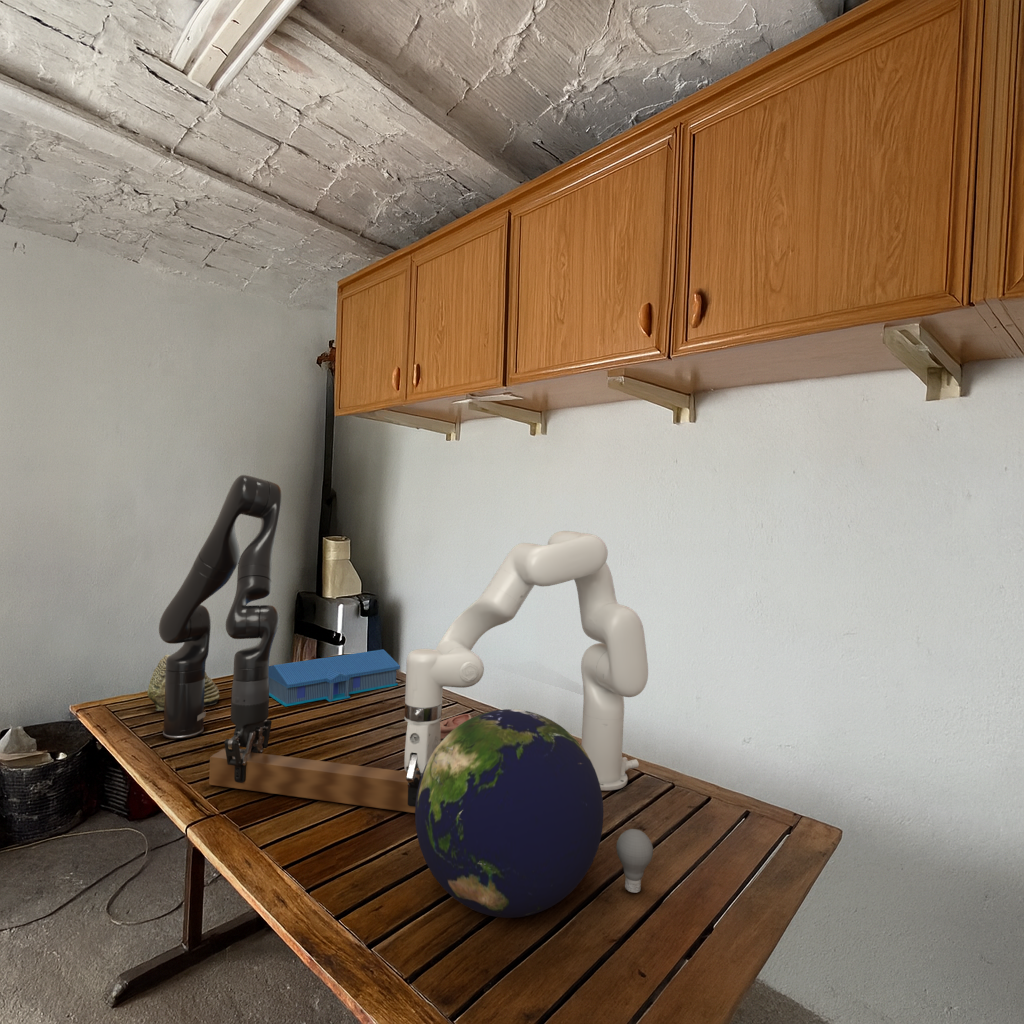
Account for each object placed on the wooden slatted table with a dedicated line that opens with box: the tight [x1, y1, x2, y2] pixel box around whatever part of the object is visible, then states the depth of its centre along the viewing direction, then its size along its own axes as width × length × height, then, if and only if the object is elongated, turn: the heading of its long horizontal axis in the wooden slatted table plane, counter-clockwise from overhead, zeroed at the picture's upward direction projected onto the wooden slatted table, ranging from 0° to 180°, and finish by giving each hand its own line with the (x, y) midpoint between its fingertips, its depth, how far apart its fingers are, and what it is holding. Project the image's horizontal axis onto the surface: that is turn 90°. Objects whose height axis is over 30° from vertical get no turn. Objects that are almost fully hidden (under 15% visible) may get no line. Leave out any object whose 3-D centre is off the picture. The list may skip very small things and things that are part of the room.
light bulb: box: [615, 828, 654, 894], centre depth 106 cm, size 6×6×10 cm
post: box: [208, 748, 420, 814], centre depth 133 cm, size 54×5×6 cm, turn 80°
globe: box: [414, 708, 604, 919], centre depth 101 cm, size 30×30×30 cm
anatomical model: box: [440, 713, 472, 740], centre depth 174 cm, size 13×4×12 cm
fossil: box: [147, 654, 221, 712], centre depth 185 cm, size 9×18×15 cm, turn 132°
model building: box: [269, 649, 401, 707], centre depth 208 cm, size 39×24×10 cm, turn 132°
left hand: (247, 776), depth 137 cm, fingers closed on post, 4 cm apart
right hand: (420, 798), depth 129 cm, fingers closed on post, 4 cm apart
